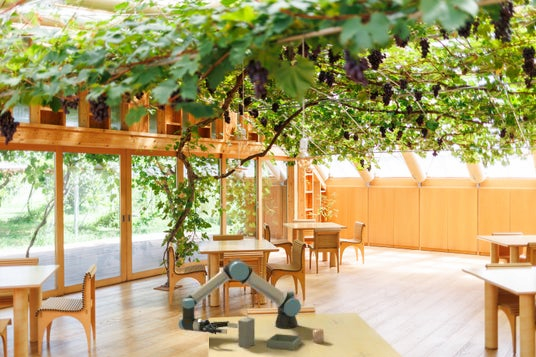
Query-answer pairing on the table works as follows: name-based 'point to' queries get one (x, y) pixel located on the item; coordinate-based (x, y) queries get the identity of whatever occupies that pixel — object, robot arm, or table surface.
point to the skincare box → (246, 332)
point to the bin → (284, 341)
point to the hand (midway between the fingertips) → (232, 328)
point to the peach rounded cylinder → (318, 336)
